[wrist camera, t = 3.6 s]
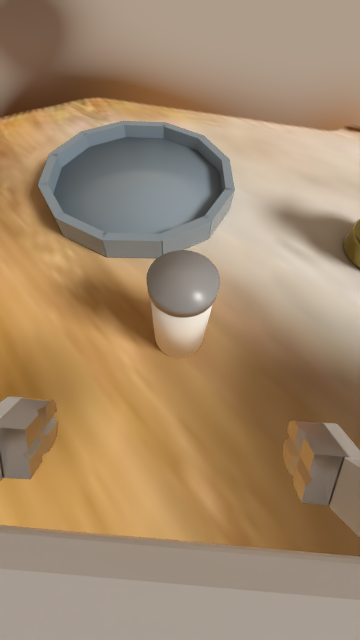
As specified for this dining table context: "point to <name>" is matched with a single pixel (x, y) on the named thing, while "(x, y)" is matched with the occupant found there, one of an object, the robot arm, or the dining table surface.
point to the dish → (137, 188)
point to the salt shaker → (353, 244)
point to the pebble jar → (181, 300)
